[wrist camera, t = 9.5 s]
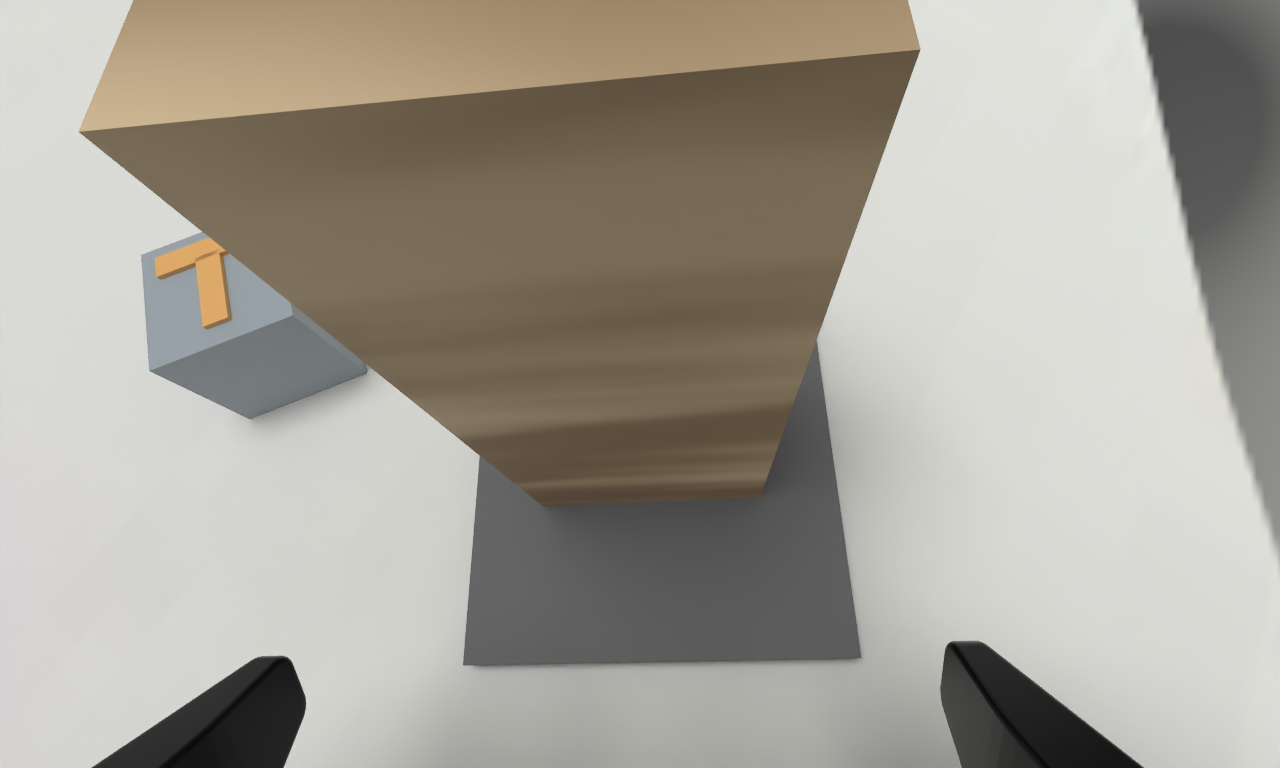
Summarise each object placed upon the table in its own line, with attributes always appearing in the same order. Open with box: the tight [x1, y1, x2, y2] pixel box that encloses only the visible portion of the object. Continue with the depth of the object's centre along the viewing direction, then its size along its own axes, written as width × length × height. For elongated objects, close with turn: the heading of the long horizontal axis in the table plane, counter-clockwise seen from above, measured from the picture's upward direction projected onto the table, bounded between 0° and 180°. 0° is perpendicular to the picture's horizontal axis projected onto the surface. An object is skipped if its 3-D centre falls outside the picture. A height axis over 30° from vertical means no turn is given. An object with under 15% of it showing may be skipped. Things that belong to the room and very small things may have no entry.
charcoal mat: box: [463, 341, 861, 665], centre depth 18 cm, size 10×10×1 cm
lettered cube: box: [141, 232, 367, 419], centre depth 19 cm, size 4×4×4 cm
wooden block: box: [79, 0, 920, 506], centre depth 11 cm, size 4×6×14 cm, turn 90°
